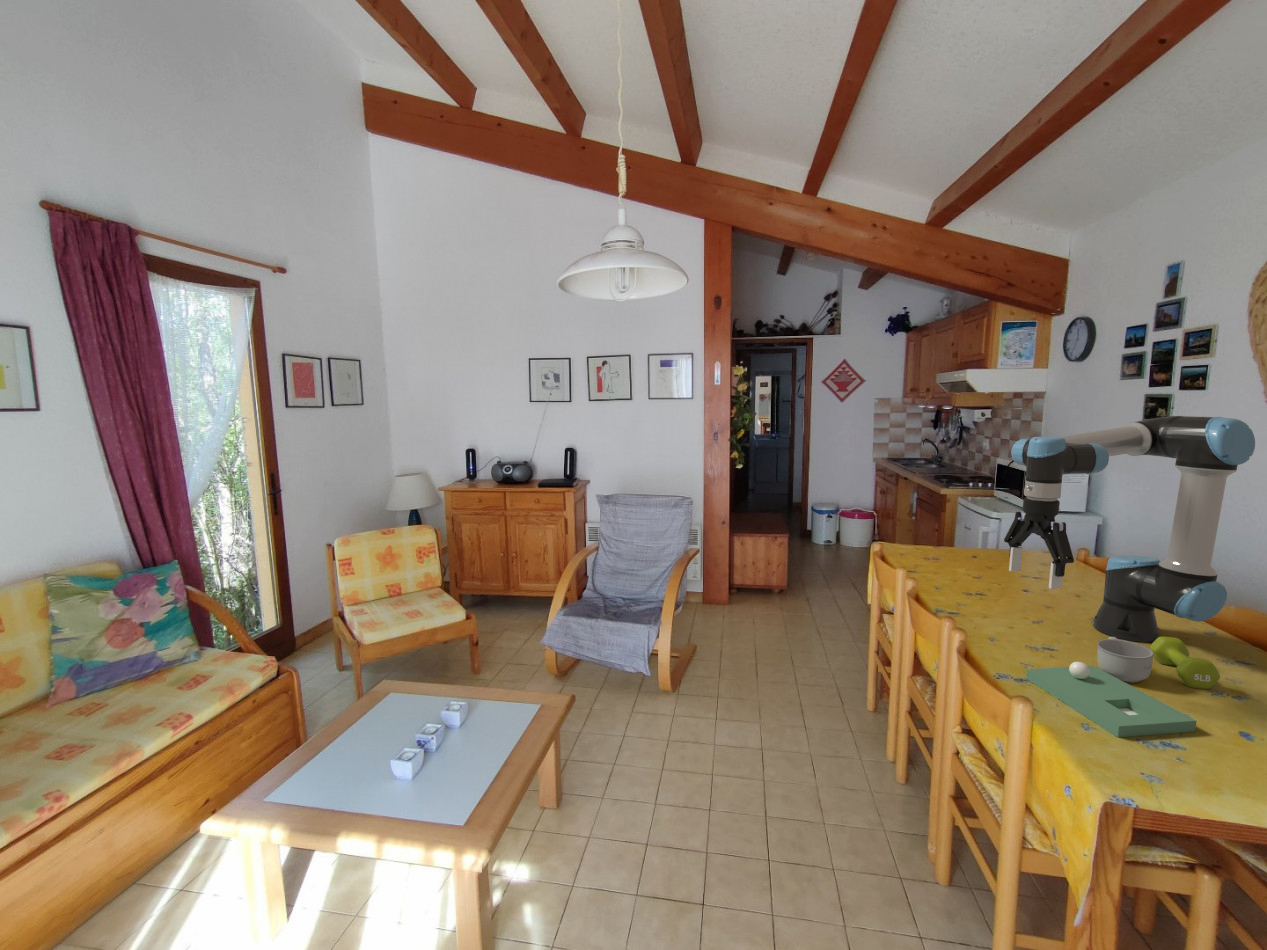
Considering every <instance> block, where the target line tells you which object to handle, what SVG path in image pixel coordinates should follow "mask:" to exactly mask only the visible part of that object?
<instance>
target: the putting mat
mask: <svg viewBox="0 0 1267 950" xmlns="http://www.w3.org/2000/svg"><path fill="white" fill-rule="evenodd" d="M1087 666H1088V668H1089V670H1090V674H1089V676H1088V677H1087V678H1085V679H1078V678H1075V677H1074V676H1073V675H1072V674H1071V673H1070V671H1069V667H1070V666H1059V667H1057V666H1056V667H1045V668H1044V667H1043V668H1029V669H1028V668H1027V669H1026V676H1025V677H1026V680H1027V681H1028V682H1031V683H1033V684H1034V685H1035V686H1036V687H1039V688H1040V689H1041V690H1043V689H1044V690H1043V691H1045V692H1046V691H1047V693H1048V692H1049V693H1050V694H1049V693H1048V694H1049V695H1051V694H1052V695H1053V697H1054V696H1055V697H1054V698H1056V697H1057V698H1058V699H1057V698H1056V699H1057V700H1059V699H1060V700H1061V701H1060V700H1059V701H1060V702H1062V701H1063V702H1064V704H1065V705H1066V704H1067V706H1068V707H1070V708H1071V709H1073V710H1074V711H1075V712H1077V713H1079V714H1080V715H1082V716H1083V717H1086V718H1087V719H1088V720H1090V721H1091V722H1093V723H1094V724H1096V725H1098V726H1099V727H1101V728H1102V729H1104V730H1105V731H1107V732H1109V733H1110V734H1111V735H1113V736H1114V737H1116V738H1125V737H1141V736H1142V737H1143V736H1152V735H1155V736H1156V735H1168V734H1169V735H1170V734H1181V733H1182V734H1183V733H1194V732H1196V728H1197V723H1198V722H1197V720H1196V719H1194V718H1192V717H1191V716H1188V715H1187V714H1185V713H1183V712H1181V711H1179V710H1177V709H1176V708H1174V707H1171V706H1170V705H1168V704H1166V703H1164V702H1162V701H1160V700H1158V699H1157V698H1155V697H1153V696H1151V695H1149V694H1148V693H1145V692H1144V691H1141V690H1139V689H1138V688H1136V687H1134V686H1132V685H1131V684H1129V683H1128V682H1124V681H1121V680H1119V679H1117V678H1115V677H1114V676H1112V675H1110V674H1108V673H1106V672H1104V671H1102V670H1101V669H1100V667H1096V666H1095V665H1087ZM1052 695H1051V696H1052ZM1063 702H1062V703H1063Z"/></svg>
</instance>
